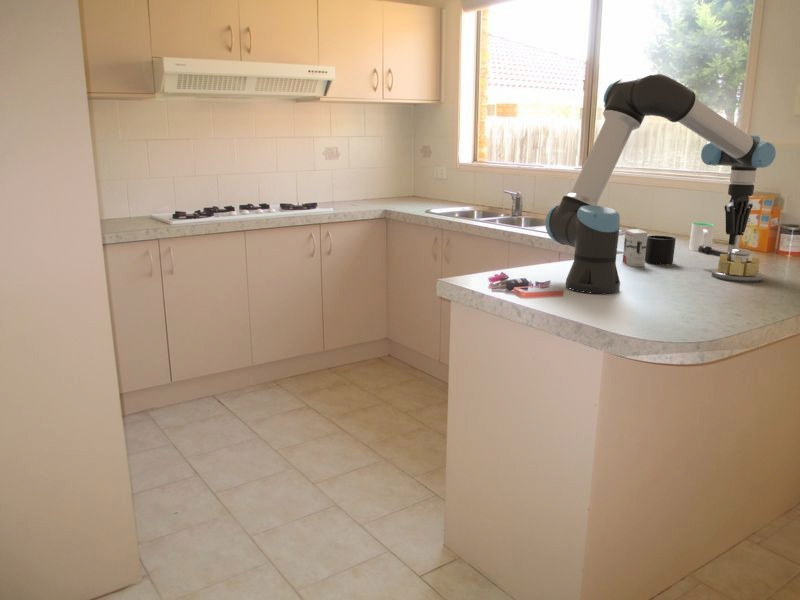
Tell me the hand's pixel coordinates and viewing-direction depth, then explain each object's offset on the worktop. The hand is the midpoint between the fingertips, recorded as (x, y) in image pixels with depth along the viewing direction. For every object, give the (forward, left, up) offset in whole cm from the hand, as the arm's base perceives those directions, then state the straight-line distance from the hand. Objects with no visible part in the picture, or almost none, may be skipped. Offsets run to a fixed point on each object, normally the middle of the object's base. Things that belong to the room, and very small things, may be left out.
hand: (732, 254), depth 225 cm
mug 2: (+16, +36, -6) cm, 40 cm away
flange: (-7, -12, -5) cm, 15 cm away
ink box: (-28, +14, -6) cm, 32 cm away
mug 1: (-17, +17, -6) cm, 25 cm away
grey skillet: (-7, -6, -4) cm, 10 cm away
